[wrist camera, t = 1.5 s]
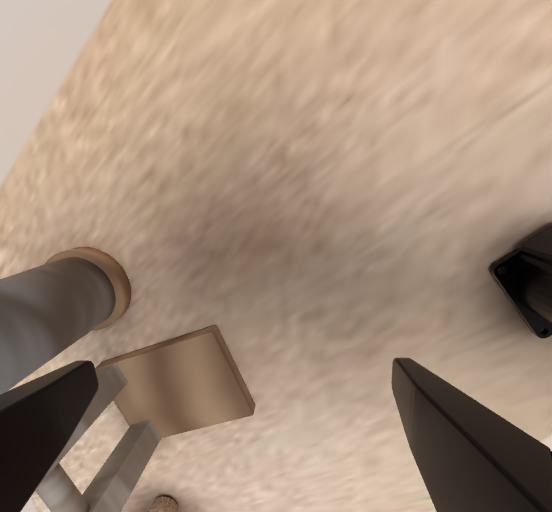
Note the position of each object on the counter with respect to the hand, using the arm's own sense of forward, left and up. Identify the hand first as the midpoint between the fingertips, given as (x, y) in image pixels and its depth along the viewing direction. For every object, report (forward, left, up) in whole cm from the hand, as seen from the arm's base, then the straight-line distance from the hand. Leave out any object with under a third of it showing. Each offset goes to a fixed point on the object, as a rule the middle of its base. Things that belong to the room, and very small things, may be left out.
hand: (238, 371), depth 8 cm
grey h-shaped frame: (-3, +14, -12) cm, 19 cm away
